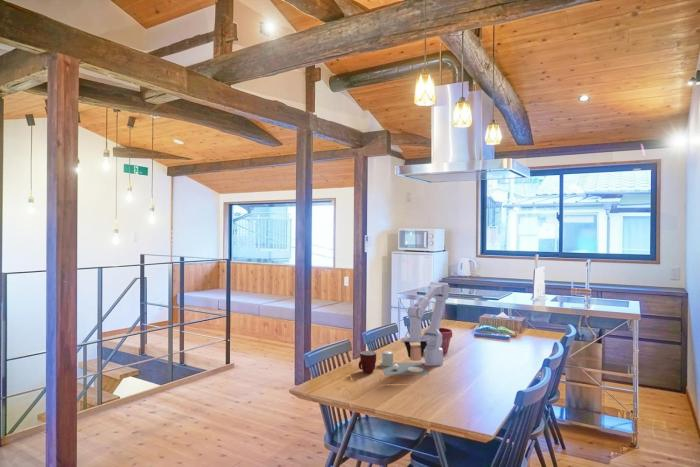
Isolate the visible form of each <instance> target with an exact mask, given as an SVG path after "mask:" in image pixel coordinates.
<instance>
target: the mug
mask: <svg viewBox="0 0 700 467" xmlns="http://www.w3.org/2000/svg"><path fill="white" fill-rule="evenodd" d="M376 363H377V352H375V351H372V350H364V351H360V356H359V361H358V368H359V370H362V371H363V373H364V374H373V372H374V371H375V367H376Z"/></svg>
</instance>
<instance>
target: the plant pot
mask: <svg viewBox="0 0 700 467" xmlns="http://www.w3.org/2000/svg"><path fill="white" fill-rule="evenodd" d="M439 332H440V333H441V334H442V345H441V346H440V347H441V348H442V349H443V354H447V353H448V351H449V347H450V342H451V339H452V338H453V330H452V329H451V328H450V329H449V328H448V327H447V328H446V327H439ZM434 336H435V335H434Z"/></svg>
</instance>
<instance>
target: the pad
mask: <svg viewBox="0 0 700 467" xmlns="http://www.w3.org/2000/svg"><path fill="white" fill-rule="evenodd" d="M407 370H408V371H410V372H422V371H423V369H422V368H420V367H409V368H407Z"/></svg>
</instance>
